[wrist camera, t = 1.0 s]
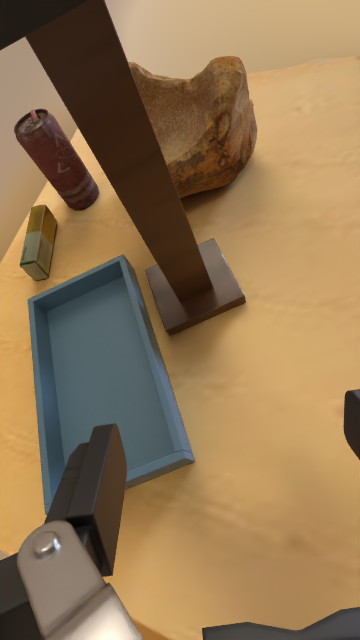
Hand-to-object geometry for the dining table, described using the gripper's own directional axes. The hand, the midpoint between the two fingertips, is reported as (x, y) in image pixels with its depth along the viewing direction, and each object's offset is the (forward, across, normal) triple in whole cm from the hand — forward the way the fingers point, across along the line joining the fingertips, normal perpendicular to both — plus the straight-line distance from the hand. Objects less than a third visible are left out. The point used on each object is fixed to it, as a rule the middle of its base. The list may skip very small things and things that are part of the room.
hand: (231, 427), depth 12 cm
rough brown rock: (+47, -1, -10) cm, 48 cm away
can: (+53, +15, -10) cm, 56 cm away
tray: (+27, +12, +11) cm, 31 cm away
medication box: (+46, +21, -3) cm, 51 cm away
